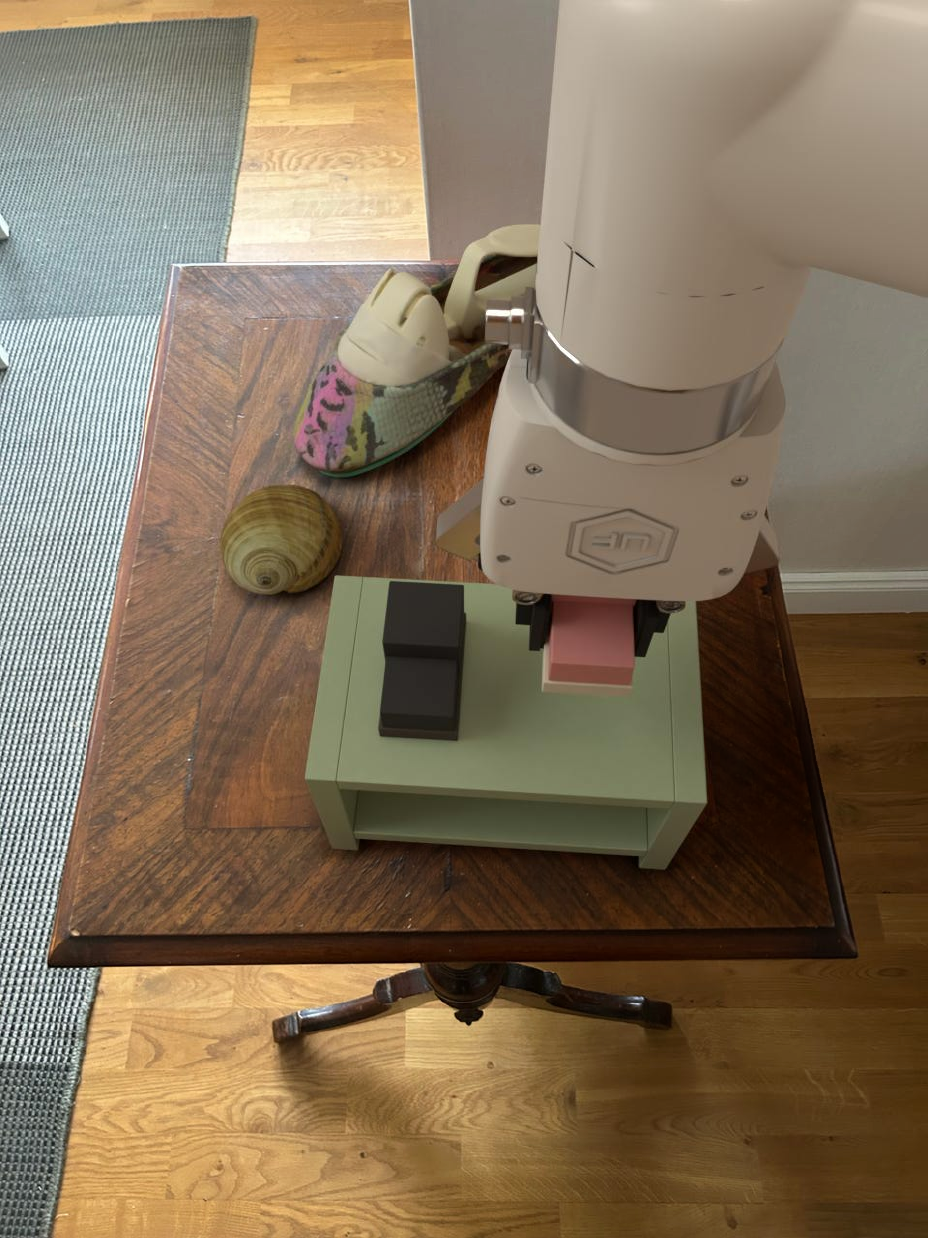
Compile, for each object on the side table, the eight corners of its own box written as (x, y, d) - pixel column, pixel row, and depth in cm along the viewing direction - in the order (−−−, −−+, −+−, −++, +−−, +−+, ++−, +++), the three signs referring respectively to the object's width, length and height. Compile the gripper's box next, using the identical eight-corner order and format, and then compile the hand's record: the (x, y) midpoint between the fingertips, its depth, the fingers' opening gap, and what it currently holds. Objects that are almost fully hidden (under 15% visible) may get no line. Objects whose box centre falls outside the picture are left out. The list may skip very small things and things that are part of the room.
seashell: (292, 541, 77) (207, 485, 72) (358, 491, 73) (274, 430, 68) (290, 640, 70) (196, 587, 65) (362, 591, 67) (270, 531, 62)
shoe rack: (659, 688, 66) (695, 594, 56) (665, 870, 60) (707, 803, 50) (355, 670, 67) (334, 574, 56) (332, 849, 61) (304, 779, 50)
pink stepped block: (545, 562, 49) (552, 512, 46) (627, 566, 49) (641, 516, 45) (541, 692, 46) (548, 649, 42) (630, 697, 46) (645, 654, 42)
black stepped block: (392, 617, 55) (387, 576, 51) (466, 621, 55) (466, 580, 51) (379, 736, 51) (372, 702, 48) (457, 741, 51) (457, 707, 48)
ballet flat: (259, 423, 77) (230, 317, 68) (557, 247, 86) (568, 131, 77) (341, 511, 73) (322, 410, 64) (643, 316, 82) (666, 203, 73)
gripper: (369, 421, 30) (400, 688, 46) (944, 451, 29) (773, 710, 45) (394, 245, 33) (415, 549, 49) (905, 269, 33) (759, 569, 49)
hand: (587, 624), depth 47 cm, fingers closed on pink stepped block, 4 cm apart
